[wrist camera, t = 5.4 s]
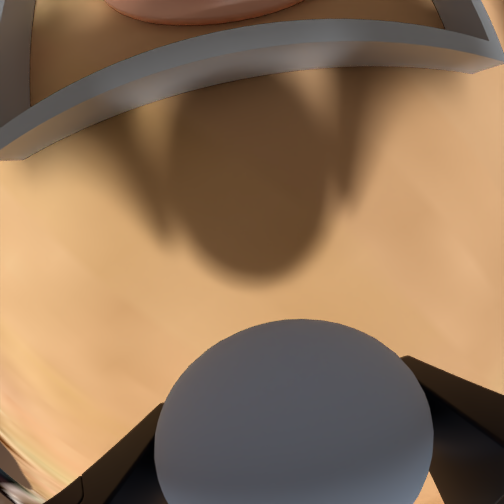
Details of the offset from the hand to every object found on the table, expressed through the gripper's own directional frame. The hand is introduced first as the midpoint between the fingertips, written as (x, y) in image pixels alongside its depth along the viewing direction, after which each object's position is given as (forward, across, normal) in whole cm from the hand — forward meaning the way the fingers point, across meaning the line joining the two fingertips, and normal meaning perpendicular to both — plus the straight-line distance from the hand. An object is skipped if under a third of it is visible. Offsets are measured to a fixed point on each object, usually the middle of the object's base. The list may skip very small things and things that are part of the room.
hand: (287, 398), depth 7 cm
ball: (-2, 0, 0) cm, 2 cm away
